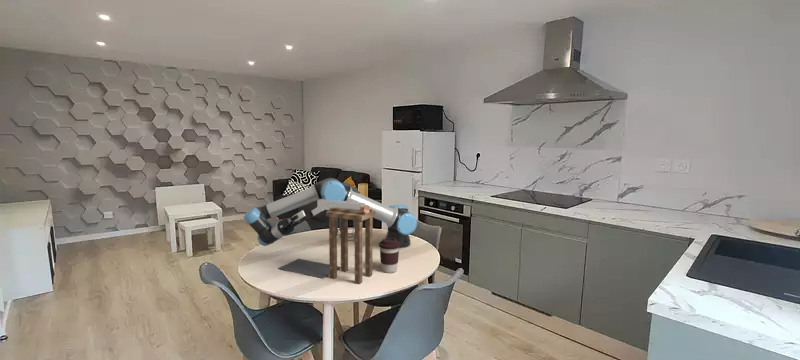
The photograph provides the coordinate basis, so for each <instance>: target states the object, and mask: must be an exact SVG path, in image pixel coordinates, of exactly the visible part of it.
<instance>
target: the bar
mask: <svg viewBox="0 0 800 360" xmlns="http://www.w3.org/2000/svg"><path fill="white" fill-rule="evenodd" d="M316 203H317V207H316V208H317V209H322V210H323V211H325V210H326V211H330V208H337V209H346V210H354V211H360V207H362V206H364V205H365V203H362V202H351V201H340V200H329V199H320V200H316Z"/></svg>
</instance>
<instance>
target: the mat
mask: <svg viewBox="0 0 800 360" xmlns="http://www.w3.org/2000/svg"><path fill="white" fill-rule="evenodd" d="M277 270H279V271H286V272H290V273H294V274H300V275H303V276H308V277H313V278H319V279H325V278H326V277H328V276H330V263H324V262H317V261H313V260H306V259H301V258H297V259H295V260H292V261H290V262H288V263H285V264H283V265H282V266H280V267H278V268H277ZM338 270H341V265H340V266H338V265H337V271H338Z"/></svg>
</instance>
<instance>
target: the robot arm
mask: <svg viewBox="0 0 800 360" xmlns="http://www.w3.org/2000/svg"><path fill="white" fill-rule="evenodd" d="M343 183H344V182H341V181H340V180H339V179H336V178H334V177H328V178H327V177H326V178H325V179H323V180H320V181H319V182H316V183H314V184H312V186H311V187H309V188H305V189H304V190H301V191H297V192H296V193H293V194H291V195H288V196H285V197H282V198H280V199H278V200H274V201H272V202H269V203H266V204H265V205H262V206H261V205H260V206H257V207H252V209H250V210H249V211H248V212H246V213H245V214H244V216H243V219H244V220H245V222H246V223H247V224H248V225H249V226H250V227H251V228H252V229H253V231H255V233H257V239H256V240H258V244H260V246H263V247H266V246H267V247H268V246H270V245H272V244H274V243H275V242H277V241H278V240H280V239H284V237H286V236H287V235H289V234H292V233H293V231H294V230H295V227H296V226H298V225H300V224H302V223H303V222H305V221H308V220H310V219H311V218H313V217H316V216H317V215H318V214H320V213H322V212H324V210H322V209H317V207H315V208H314V209H311V211H309V212H307V213H305V211H304V209H303V210H301V211H299V212H297V213H296V214H294V215H293V216H289V218H288V217H285V218H283V219H281V220H279V221H277V222H276V223H274V224H271V223H270V222H269V220H270V219H272V218H275V217H277V216H280V215H282V214H283V215H284V214H286V213H288V212H290V211H293V210H296V209H298V208H301V207H303V206H305V205H308V204H311V203H313V202H317V200H320V199H329V200H340V201H351V202H362V203H365V205H369V206H370V209H373V211H376V215H375V216H373V218H374V219H376V220H378V221H380V222H383V223H385V224H386V226H387V232H386V235H385V238H394V239H396V240H397V241H398V242H400V247H399V249H401V248H402V247H403V248H407V247H409V246H411V237H410V234H411V235H412V233H414V231H415V230H416V229H417V226H418V221H417V218H416V217H415V215H414V214H412V213H411V212H410V211H409V207H408V206H409V205H406V204H405V205H404V204H392V205H389V206H388V205H386V204H383V203H382V202H379V201H377V200H374V199H372V198H370V197H368V196H365V195H363V194H361V193H356V192H355V191H352V188H351V187H350V186H348V185H345V184H343Z"/></svg>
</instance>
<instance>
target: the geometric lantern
mask: <svg viewBox="0 0 800 360" xmlns="http://www.w3.org/2000/svg"><path fill="white" fill-rule="evenodd" d="M342 183H343V184H345V185H348V186H350V187H351V188H352V191H354V192H356V193H359V194H361V192H360V191H359V190H358V188H357V187H355V186H353V185H352V184H350V183H349V182H347V181H346V182H345V181H344V182H342ZM352 221H353V224H352V225H353V227H351V228H350V227H348V230H352V232H348V242H350V241H355V220H352ZM337 237H339V238H340V239H341V218H337ZM349 238H353V239H349Z"/></svg>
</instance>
